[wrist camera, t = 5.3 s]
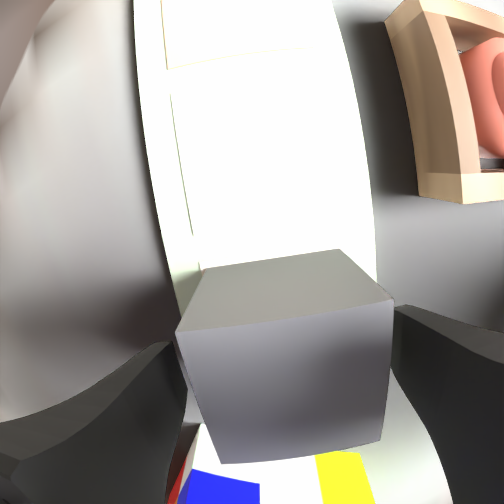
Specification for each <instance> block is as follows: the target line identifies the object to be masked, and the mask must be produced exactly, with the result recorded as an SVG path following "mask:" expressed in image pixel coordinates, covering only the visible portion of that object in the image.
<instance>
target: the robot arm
mask: <svg viewBox="0 0 504 504" xmlns="http://www.w3.org/2000/svg"><path fill="white" fill-rule="evenodd" d="M390 366H391V368H392V371H393V373H394V375H395V377H396V380H397V382H398V383H399V385H400V387H401V388H402V390H403V391H404V393H405V395H406V396H407V398H408V400H409V401H410V403H411V404H412V406H413V407H414V409H415V411H416V412H417V414H418V416H419V417H420V419H421V420H422V422H423V424H424V425H425V427H426V429H427V431H428V433H429V435H430V437H431V439H432V441H433V444H434V446H435V449H436V451H437V453H438V456H439V459H440V461H441V464H442V467H443V470H444V473H445V476H446V479H447V482H448V486H449V489H450V493H451V496H452V500H453V504H504V333H502V332H497V331H492V330H487V329H483V328H479V327H476V326H472V325H469V324H465V323H462V322H459V321H456V320H453V319H450V318H447V317H444V316H441V315H438V314H436V313H433V312H430V311H427V310H424V309H421V308H418V307H414V306H411V305H402V306H398V307H394V316H393V337H392V352H391V364H390ZM187 391H188V389H187V386H186V383H185V380H184V377H183V374H182V371H181V368H180V365H179V362H178V359H177V356H176V352H175V349H174V346H173V343H172V341H169V342H155V343H153V344H152V345H150V346H148V347H147V348H145V349H144V350H143V351H141V352H140V353H139V354H137V355H136V356H134V357H133V358H132V359H130V360H129V361H128V362H126V363H125V364H124V365H122V366H121V367H120V368H118V369H117V370H116V371H114V372H113V373H111V374H110V375H108V376H107V377H105V378H104V379H102V380H101V381H99V382H98V383H96V384H95V385H93V386H92V387H90V388H88V389H87V390H85V391H83V392H82V393H80V394H78V395H76V396H74V397H72V398H70V399H68V400H66V401H64V402H62V403H60V404H58V405H55V406H53V407H50V408H48V409H45V410H43V411H40V412H38V413H35V414H32V415H29V416H26V417H22V418H18V419H15V420H11V421H6V422H1V423H0V504H164V502H165V493H166V486H167V478H168V473H169V468H170V464H171V460H172V457H173V453H174V450H175V446H176V443H177V439H178V436H179V432H180V429H181V425H182V422H183V418H184V414H185V408H186V400H187Z"/></svg>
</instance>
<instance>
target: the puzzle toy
mask: <svg viewBox="0 0 504 504" xmlns="http://www.w3.org/2000/svg"><path fill="white" fill-rule="evenodd" d="M167 504H375V501H374V498H373V495H372V491H371V488H370V485H369V482H368V479H367V475H366V472H365V469H364V466H363V463H362V460H361V457H360V454H359V453H351V452H340V451H334V452H329V453H324V454H319V455H313V456H307V457H300V458H293V459H286V460H277V461H268V462H257V463H242V464H221V463H220V460H219V458H218V456H217V453H216V451H215V448H214V446H213V443H212V441H211V438H210V435H209V433H208V430H207V428H206V425H205V424H202V423H201V424H200V427H199V429H198V431H197V434H196V436H195V438H194V440H193V443H192V445H191V447H190V450H189V452H188V454H187V457H186V459H185V461H184V463H183V466H182V468H181V470H180V473H179V475H178V477H177V479H176V482H175V484H174V486H173V488H172V491H171V493H170V495H169V499H168V503H167Z"/></svg>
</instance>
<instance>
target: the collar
mask: <svg viewBox="0 0 504 504" xmlns="http://www.w3.org/2000/svg"><path fill="white" fill-rule="evenodd" d="M384 23H385V26H386V29H387V32H388V35H389V38H390V41H391V45H392V48H393V52H394V55H395V59H396V63H397V66H398V70H399V74H400V78H401V83H402V87H403V91H404V96H405V101H406V106H407V111H408V116H409V121H410V127H411V133H412V140H413V146H414V154H415V161H416V170H417V179H418V190H419V196H422V197H428V198H433V199H439V200H444V201H449V202H454V203H459V204H470V203H479V202H488V201H497V200H504V168H503V169H481V168H480V159H479V150H478V142H477V135H476V129H475V123H474V117H473V112H472V107H471V102H470V97H469V93H468V88H467V84H466V80H465V76H464V73H463V69H462V65H461V62H460V58H459V55H458V52H457V50H460V51H467V50H469V49H471V48H473V47H475V46H477V45H479V44H481V43H483V42H485V41H487V40H490V39H492V38H496V37H498V38H504V17H502V16H499V15H497V14H494V13H492V12H489V11H487V10H484V9H481V8H479V7H476V6H473V5H470V4H467V3H464V2H461V1H458V0H404V1H403V2H402V3H401V4H400V5H399V6H398V7H397V8H396V9H395V10H394V11H393V13H392V14H391V15H390V16H389V17H388V18H387V19H386V20H385V21H384Z"/></svg>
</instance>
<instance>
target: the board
mask: <svg viewBox="0 0 504 504" xmlns="http://www.w3.org/2000/svg"><path fill="white" fill-rule="evenodd" d="M134 23H135V43H136V57H137V70H138V81H139V91H140V101H141V110H142V118H143V126H144V133H145V141H146V148H147V154H148V161H149V167H150V173H151V179H152V185H153V191H154V197H155V202H156V207H157V213H158V218H159V223H160V228H161V233H162V238H163V242H164V247H165V252H166V256H167V261H168V265H169V269H170V274H171V278H172V282H173V286H174V290H175V294H176V298H177V302H178V306H179V310H180V314H181V318H182V317H183V315H184V313H185V311H186V309H187V307H188V305H189V303H190V301H191V299H192V297H193V295H194V293H195V291H196V289H197V287H198V285H199V283H200V281H201V279H202V277H203V275H204V273H205V271H206V269H207V268H209V267H216V266H223V265H230V264H237V263H244V262H250V261H257V260H264V259H271V258H277V257H284V256H291V255H297V254H304V253H310V252H317V251H323V250H330V249H336V248H340V249H341V250H342V251H343V252H344V253H345V254H347V255H348V256H349V257H350V258H351V259H352V260H353V261H354V262H355V263H356V264H357V265H359V266H360V267H361V268H362V269H363V270H364V271H365V272H366V273H367V274H368V275H369V276H370V277H371V278H372V279H373V280H375V281H376V282H377V280H376V253H375V235H374V222H373V210H372V199H371V190H370V181H369V173H368V165H367V158H366V151H365V144H364V138H363V132H362V126H361V120H360V115H359V109H358V104H357V99H356V94H355V90H354V85H353V80H352V76H351V72H350V68H349V63H348V59H347V55H346V51H345V48H344V44H343V40H342V37H341V33H340V30H339V26H338V23H337V19H336V16H335V13H334V10H333V7H332V3H331V0H134Z"/></svg>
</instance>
